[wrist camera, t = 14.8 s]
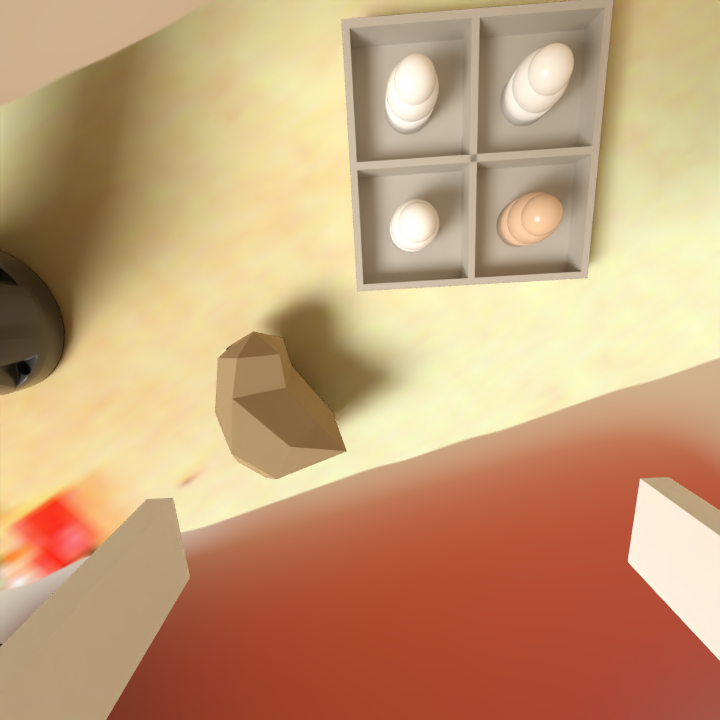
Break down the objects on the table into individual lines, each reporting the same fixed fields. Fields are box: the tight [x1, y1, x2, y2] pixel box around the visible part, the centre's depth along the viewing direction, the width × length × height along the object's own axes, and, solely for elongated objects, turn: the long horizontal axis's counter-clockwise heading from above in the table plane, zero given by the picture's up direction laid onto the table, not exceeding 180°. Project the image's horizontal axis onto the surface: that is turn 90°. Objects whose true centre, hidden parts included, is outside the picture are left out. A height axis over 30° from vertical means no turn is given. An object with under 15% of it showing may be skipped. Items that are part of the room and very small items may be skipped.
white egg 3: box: [500, 43, 574, 126], centre depth 27 cm, size 4×4×6 cm
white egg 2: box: [389, 199, 439, 253], centre depth 30 cm, size 4×4×6 cm
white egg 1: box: [385, 53, 439, 134], centre depth 27 cm, size 4×4×6 cm
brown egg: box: [496, 192, 563, 247], centre depth 29 cm, size 4×4×6 cm
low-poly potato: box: [215, 332, 346, 479], centre depth 32 cm, size 15×11×12 cm
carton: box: [341, 0, 613, 291], centre depth 30 cm, size 21×21×3 cm
